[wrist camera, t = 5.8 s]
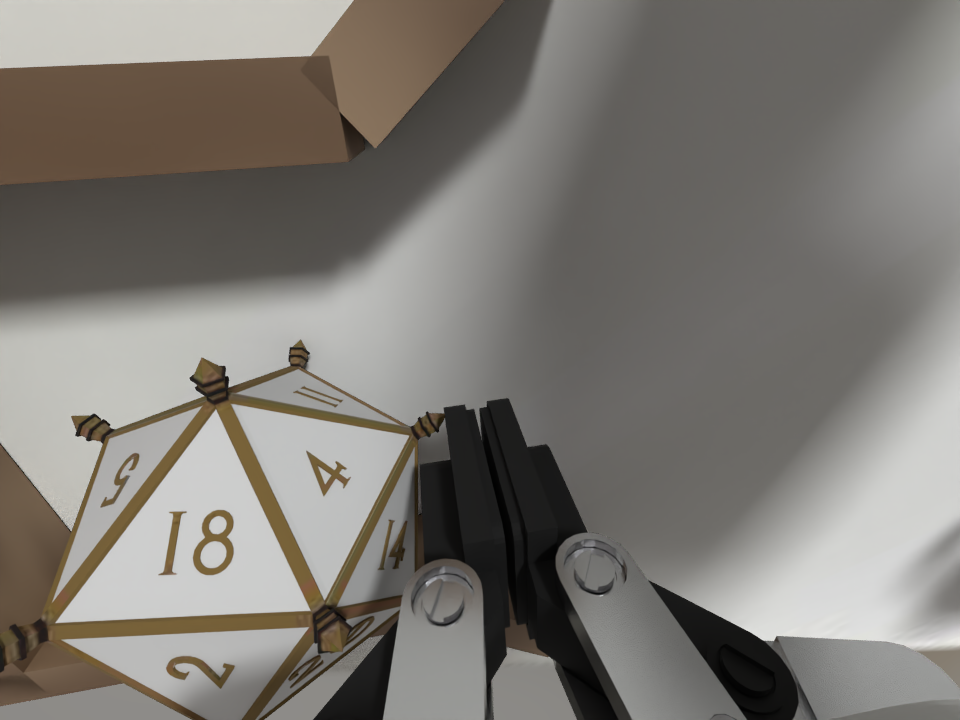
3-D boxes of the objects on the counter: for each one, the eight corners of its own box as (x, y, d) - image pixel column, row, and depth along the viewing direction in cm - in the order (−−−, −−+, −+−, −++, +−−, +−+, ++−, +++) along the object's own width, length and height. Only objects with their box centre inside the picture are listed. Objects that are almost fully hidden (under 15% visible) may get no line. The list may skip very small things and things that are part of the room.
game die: (364, 334, 17) (557, 356, 9) (367, 541, 17) (543, 733, 10) (37, 338, 11) (-254, 410, 3) (65, 639, 12) (-109, 1273, 4)
